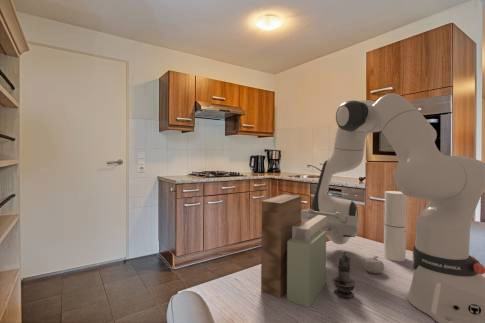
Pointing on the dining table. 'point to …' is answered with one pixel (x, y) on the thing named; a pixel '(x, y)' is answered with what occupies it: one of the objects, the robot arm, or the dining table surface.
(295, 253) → the olive grey block
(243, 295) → the dining table surface
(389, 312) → the dining table surface
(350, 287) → the stone chess bishop
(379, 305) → the dining table surface
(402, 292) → the dining table surface
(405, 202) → the cylindrical container
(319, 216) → the beige rectangular bar
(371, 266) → the garlic
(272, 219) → the tall stand
